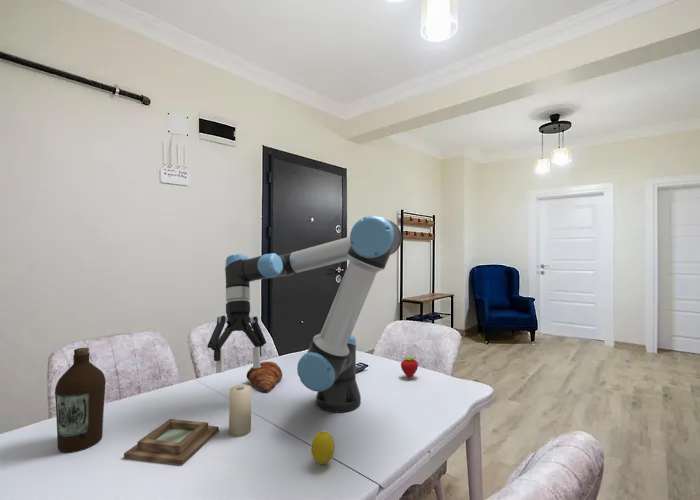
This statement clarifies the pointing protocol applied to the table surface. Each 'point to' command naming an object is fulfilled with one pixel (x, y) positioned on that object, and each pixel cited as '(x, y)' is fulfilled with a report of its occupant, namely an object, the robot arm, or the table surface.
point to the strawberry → (409, 366)
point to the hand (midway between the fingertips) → (239, 370)
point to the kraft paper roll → (239, 410)
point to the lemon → (322, 447)
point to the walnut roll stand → (172, 442)
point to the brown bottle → (80, 404)
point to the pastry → (265, 376)
